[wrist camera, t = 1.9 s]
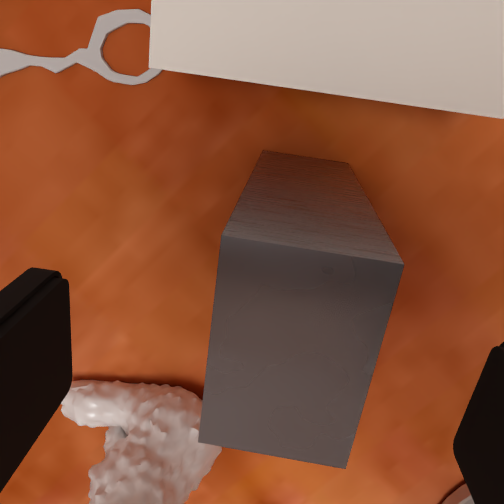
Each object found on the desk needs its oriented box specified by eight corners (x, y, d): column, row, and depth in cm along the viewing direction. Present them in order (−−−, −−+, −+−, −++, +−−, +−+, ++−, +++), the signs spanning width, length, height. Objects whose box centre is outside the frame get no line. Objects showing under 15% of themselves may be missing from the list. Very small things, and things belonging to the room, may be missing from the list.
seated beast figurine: (62, 377, 27) (-103, 586, 16) (185, 333, 25) (94, 538, 14) (138, 487, 30) (43, 730, 19) (255, 455, 28) (225, 707, 17)
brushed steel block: (348, 163, 21) (404, 264, 10) (323, 278, 23) (345, 469, 12) (263, 150, 21) (221, 235, 10) (246, 266, 23) (197, 442, 12)
